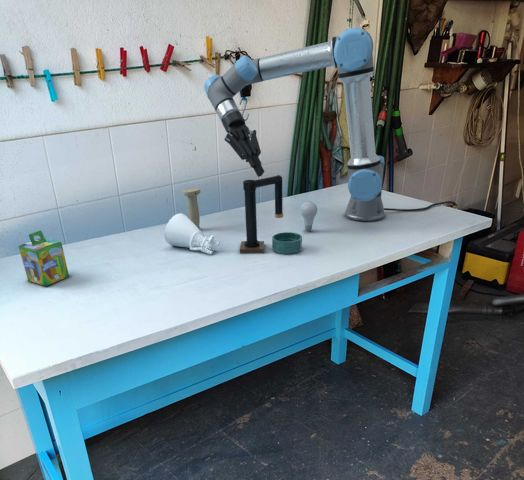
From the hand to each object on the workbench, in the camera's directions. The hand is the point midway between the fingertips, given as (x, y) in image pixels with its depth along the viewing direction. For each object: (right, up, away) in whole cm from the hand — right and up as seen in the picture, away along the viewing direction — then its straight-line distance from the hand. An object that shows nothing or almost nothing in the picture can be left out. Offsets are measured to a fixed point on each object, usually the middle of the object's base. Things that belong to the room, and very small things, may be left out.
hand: (261, 174), depth 181 cm
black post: (-3, -26, -1) cm, 26 cm away
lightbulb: (+18, -17, +13) cm, 28 cm away
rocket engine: (-24, -27, 0) cm, 36 cm away
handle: (-25, -15, +19) cm, 35 cm away
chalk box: (-66, -39, -19) cm, 79 cm away
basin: (+9, -27, -3) cm, 28 cm away
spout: (+1, -17, -3) cm, 17 cm away
